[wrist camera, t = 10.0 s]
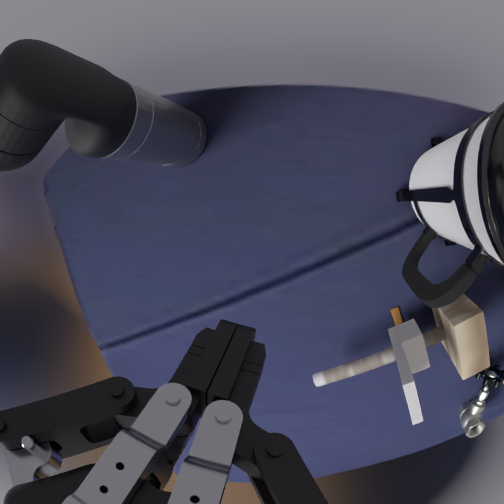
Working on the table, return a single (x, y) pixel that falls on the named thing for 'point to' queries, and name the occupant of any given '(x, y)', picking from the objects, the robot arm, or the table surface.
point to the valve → (479, 402)
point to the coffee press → (459, 205)
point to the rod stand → (432, 343)
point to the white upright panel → (409, 361)
